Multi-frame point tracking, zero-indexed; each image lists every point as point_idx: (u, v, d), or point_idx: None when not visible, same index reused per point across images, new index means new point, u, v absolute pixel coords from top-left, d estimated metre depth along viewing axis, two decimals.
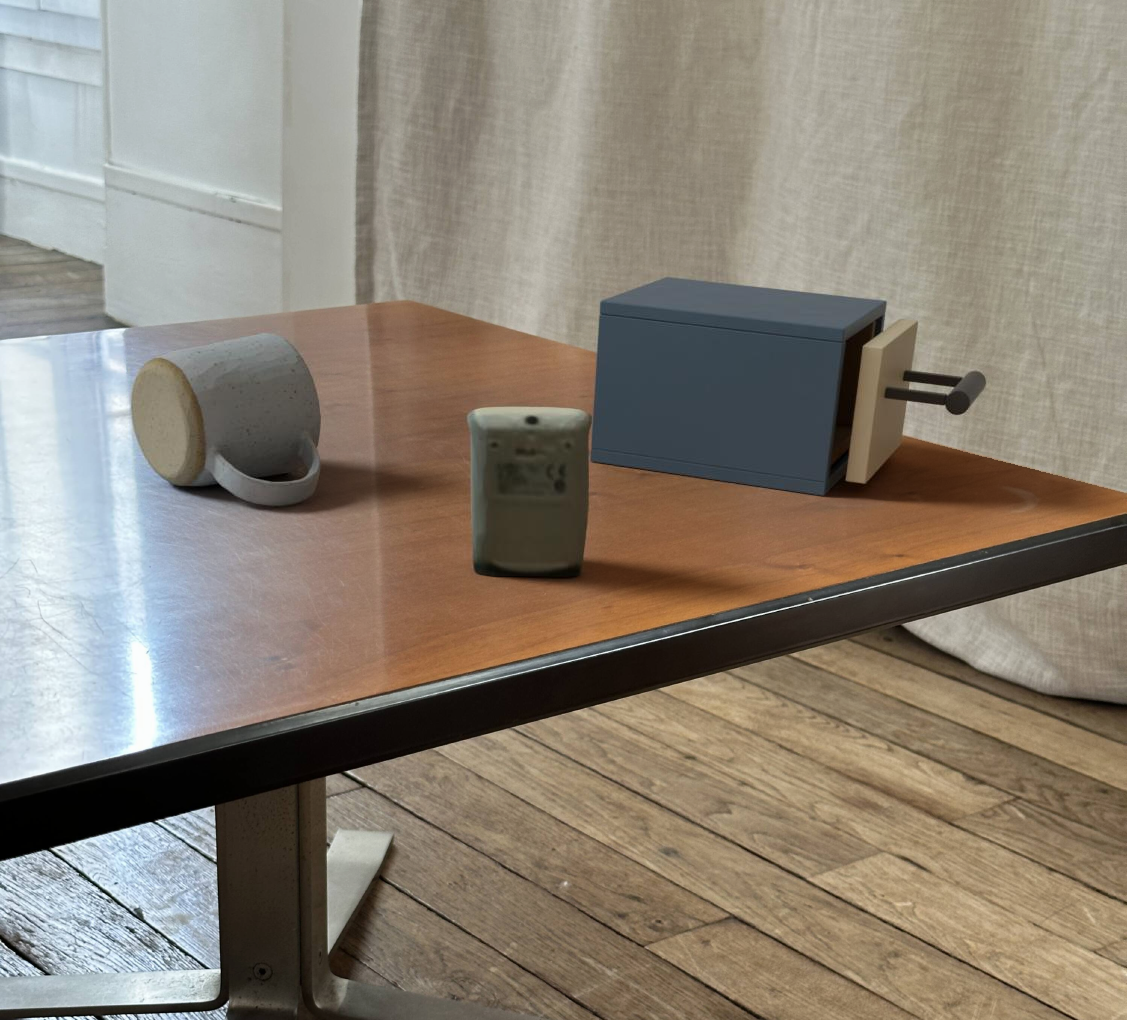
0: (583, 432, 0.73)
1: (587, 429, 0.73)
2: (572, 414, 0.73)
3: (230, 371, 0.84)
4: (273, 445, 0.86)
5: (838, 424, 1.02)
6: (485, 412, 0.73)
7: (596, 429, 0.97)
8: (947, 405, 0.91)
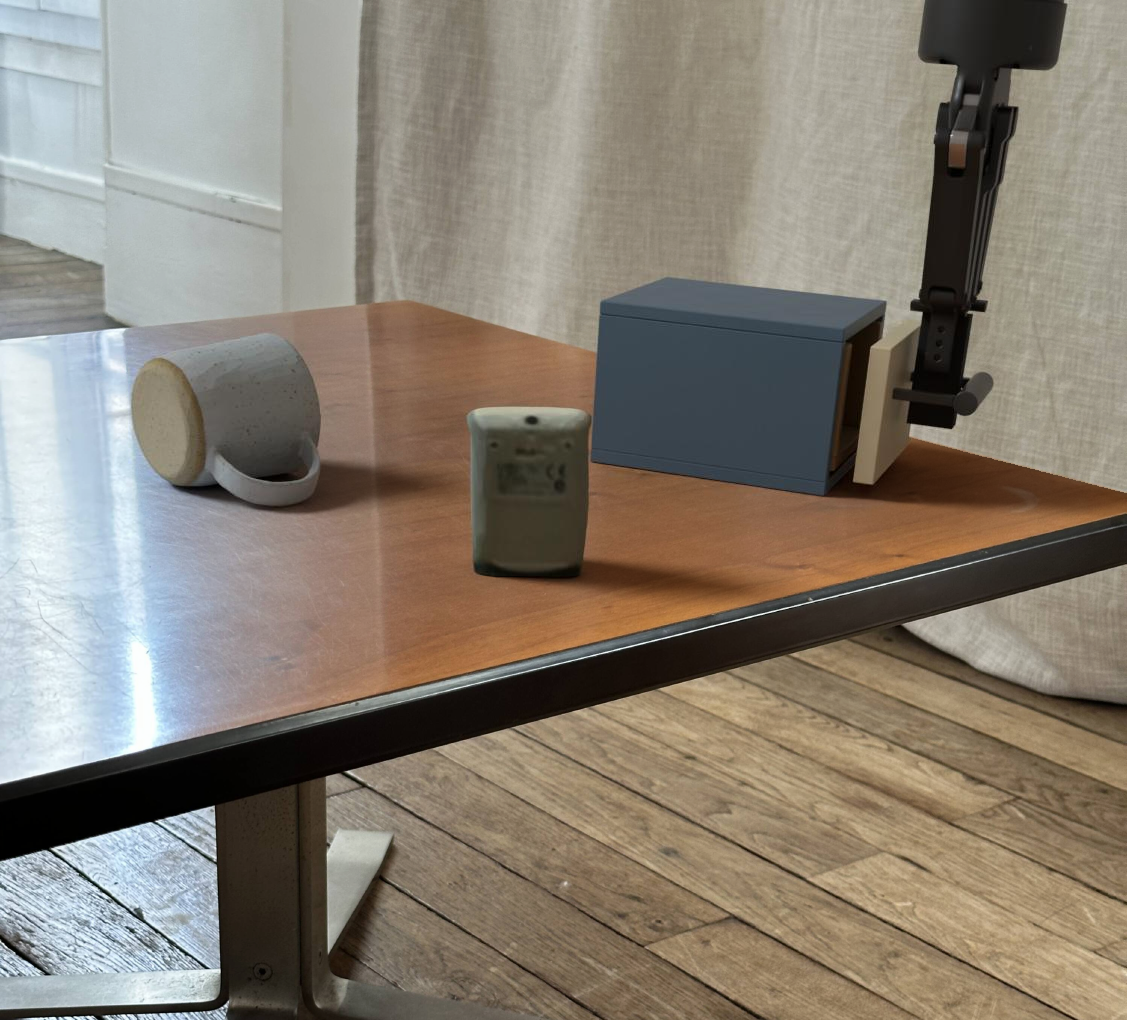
0: (583, 432, 0.73)
1: (587, 429, 0.73)
2: (572, 414, 0.73)
3: (230, 371, 0.84)
4: (273, 445, 0.86)
5: (845, 425, 1.01)
6: (485, 412, 0.73)
7: (596, 429, 0.97)
8: (955, 406, 0.91)
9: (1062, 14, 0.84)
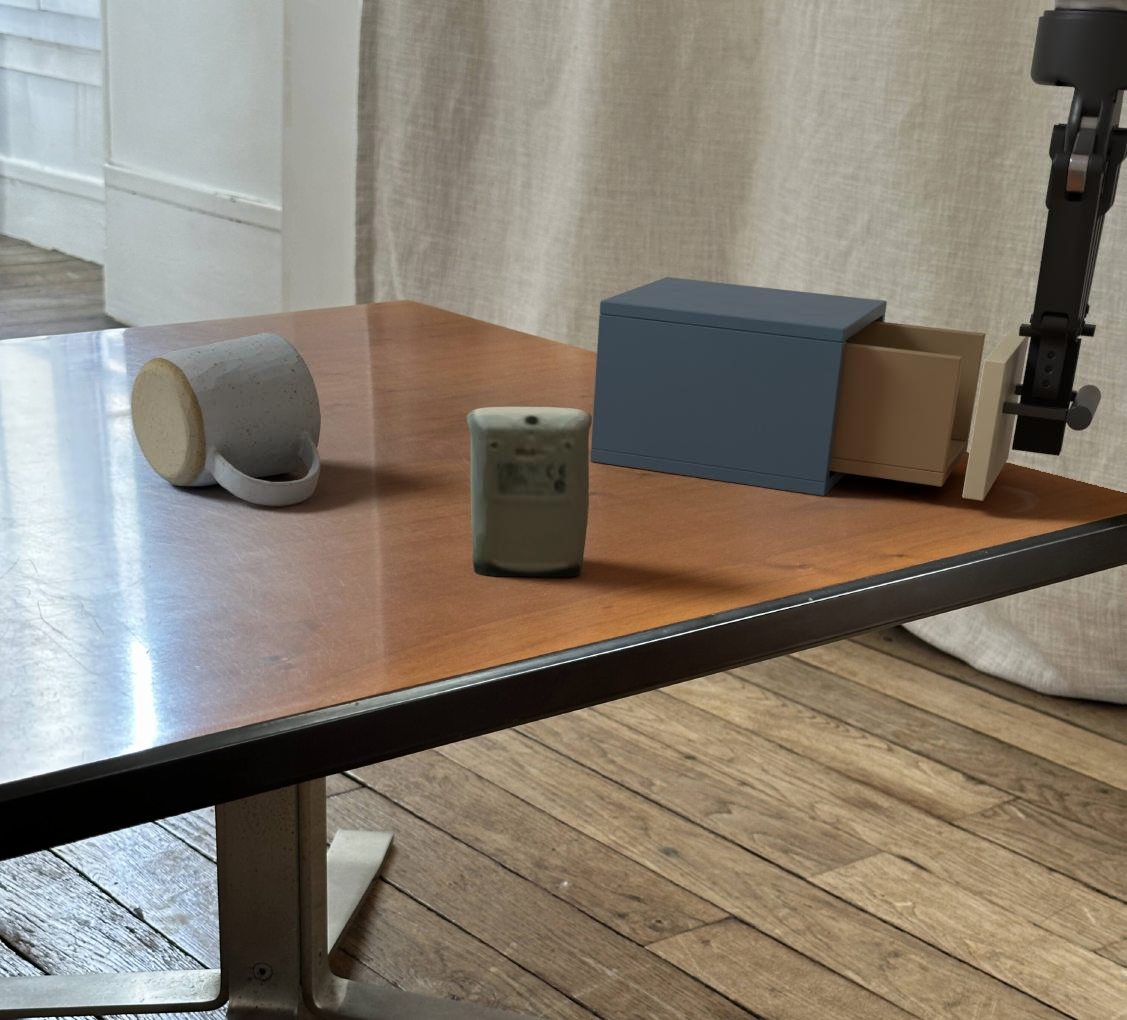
0: (583, 432, 0.73)
1: (587, 429, 0.73)
2: (572, 414, 0.73)
3: (230, 371, 0.84)
4: (273, 445, 0.86)
5: None
6: (485, 412, 0.73)
7: (596, 429, 0.97)
8: (1068, 421, 0.89)
9: None
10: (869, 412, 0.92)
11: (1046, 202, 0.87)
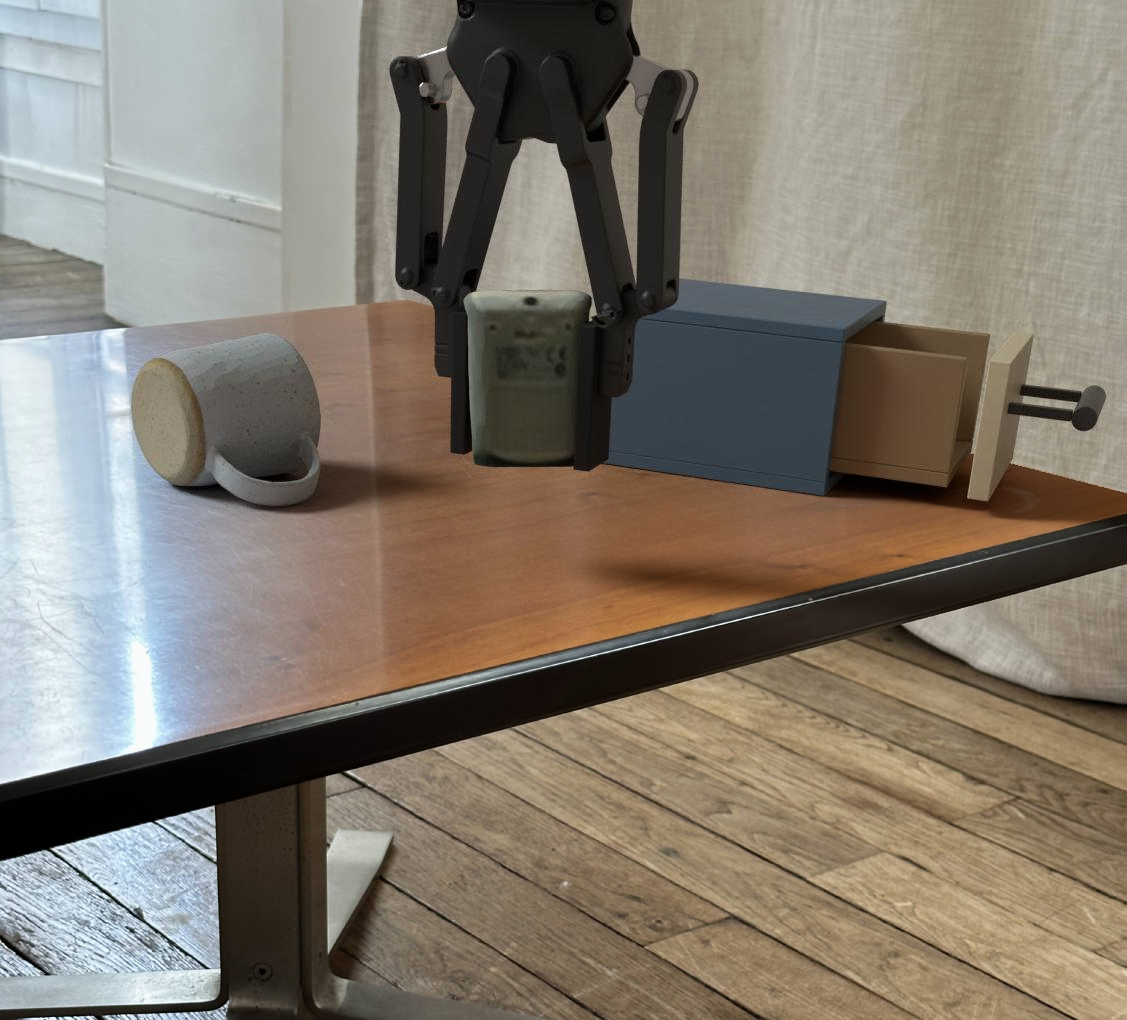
0: (583, 312, 0.71)
1: (588, 309, 0.71)
2: (571, 295, 0.71)
3: (230, 371, 0.84)
4: (273, 445, 0.86)
5: None
6: (482, 294, 0.71)
7: None
8: (1073, 422, 0.89)
9: None
10: (874, 413, 0.91)
11: None
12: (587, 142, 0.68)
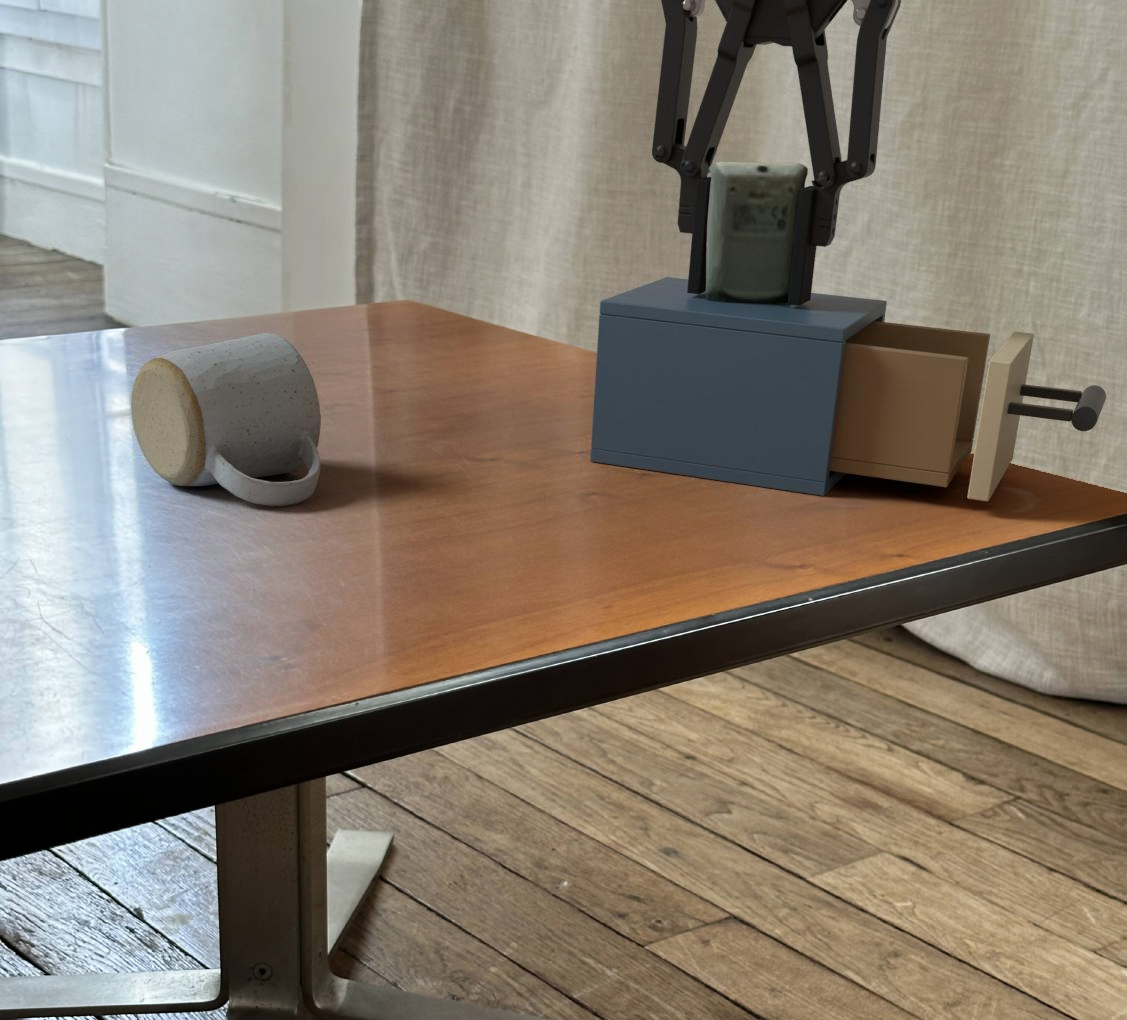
0: (802, 179, 0.92)
1: (805, 176, 0.93)
2: (793, 165, 0.92)
3: (230, 371, 0.84)
4: (273, 445, 0.86)
5: None
6: (724, 163, 0.92)
7: (596, 429, 0.97)
8: (1073, 422, 0.89)
9: None
10: (874, 413, 0.91)
11: None
12: (815, 44, 0.89)
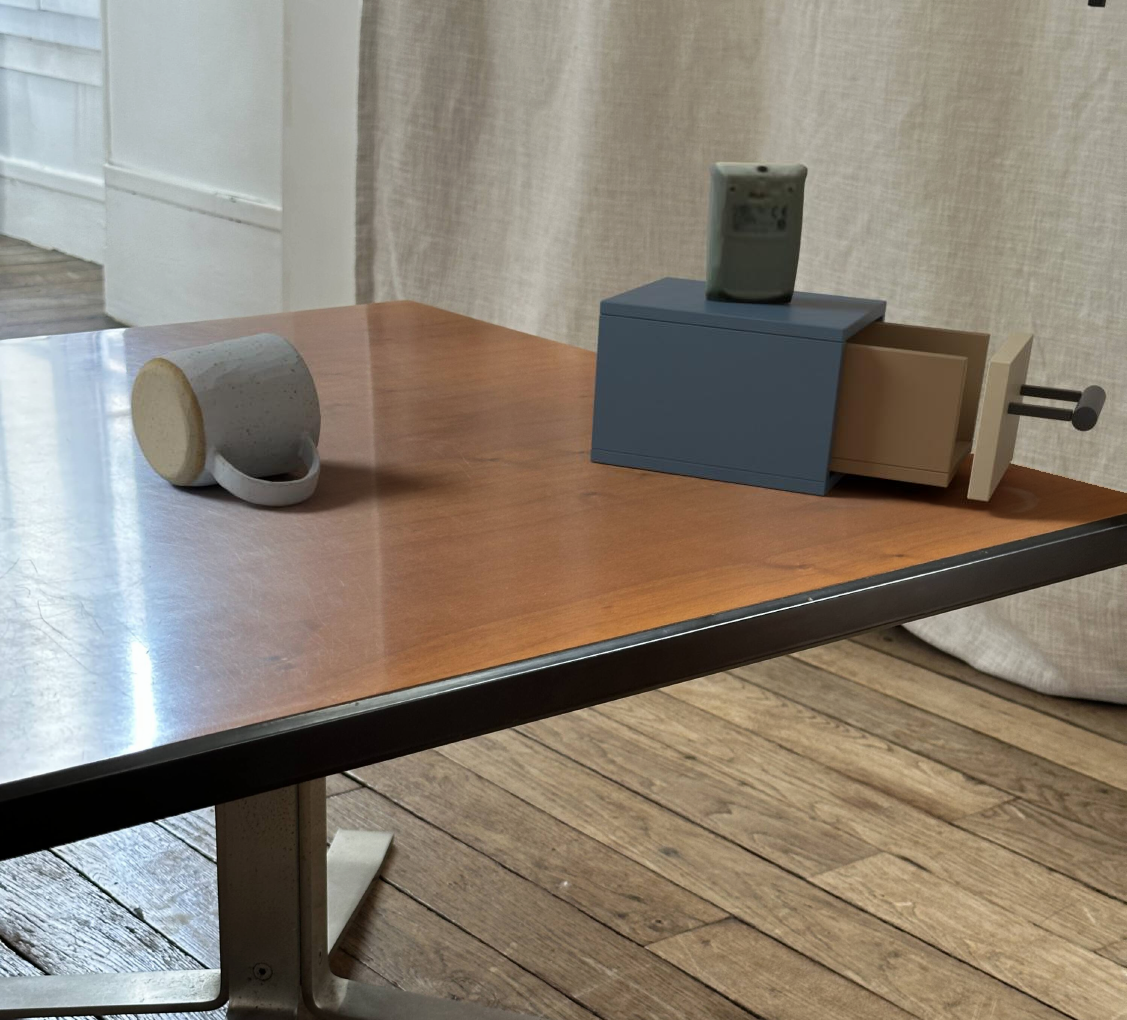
0: (802, 179, 0.92)
1: (805, 177, 0.93)
2: (793, 165, 0.92)
3: (230, 371, 0.84)
4: (273, 445, 0.86)
5: None
6: (724, 163, 0.92)
7: (596, 429, 0.97)
8: (1073, 422, 0.89)
9: None
10: (874, 413, 0.91)
11: None
12: None
